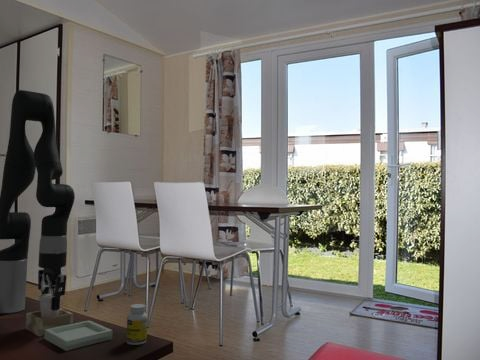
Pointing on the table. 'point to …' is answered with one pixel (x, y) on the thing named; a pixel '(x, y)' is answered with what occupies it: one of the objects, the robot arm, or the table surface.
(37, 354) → the table surface
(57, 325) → the holder
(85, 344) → the tray
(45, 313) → the smoothie
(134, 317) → the supplement bottle
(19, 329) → the table surface
